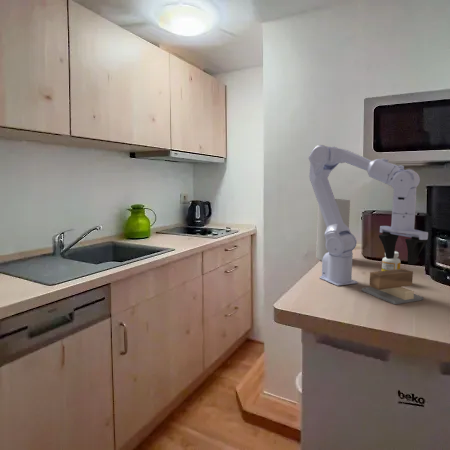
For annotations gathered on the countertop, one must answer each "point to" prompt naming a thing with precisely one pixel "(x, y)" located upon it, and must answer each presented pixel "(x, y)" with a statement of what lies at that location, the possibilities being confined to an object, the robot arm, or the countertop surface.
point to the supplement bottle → (391, 262)
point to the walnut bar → (391, 279)
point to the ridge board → (389, 297)
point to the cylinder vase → (321, 227)
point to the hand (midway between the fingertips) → (400, 261)
